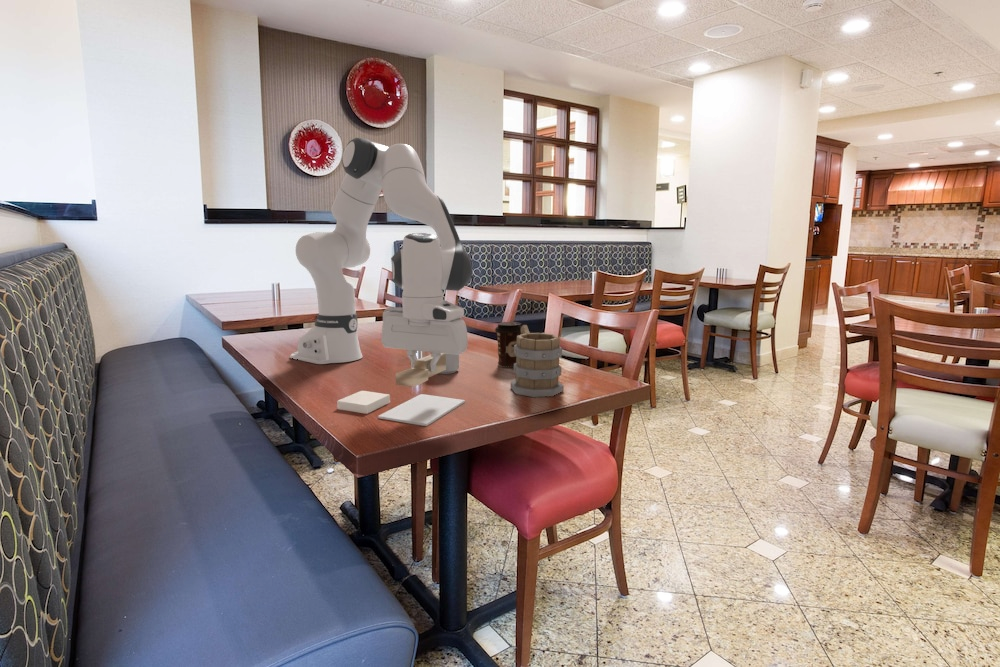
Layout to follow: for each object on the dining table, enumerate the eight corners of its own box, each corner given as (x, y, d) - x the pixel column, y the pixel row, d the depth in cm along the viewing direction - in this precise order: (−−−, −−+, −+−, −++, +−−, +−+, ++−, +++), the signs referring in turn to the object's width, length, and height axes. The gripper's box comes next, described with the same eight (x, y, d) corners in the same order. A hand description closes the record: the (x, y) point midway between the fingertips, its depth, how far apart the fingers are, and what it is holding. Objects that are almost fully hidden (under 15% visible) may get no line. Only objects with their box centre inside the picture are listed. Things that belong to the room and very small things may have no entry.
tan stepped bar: (395, 384, 117) (395, 366, 116) (433, 368, 131) (432, 351, 130) (413, 386, 115) (413, 368, 114) (449, 370, 129) (449, 353, 129)
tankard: (568, 396, 136) (570, 336, 134) (518, 398, 134) (519, 337, 131) (545, 375, 156) (547, 323, 153) (501, 377, 153) (502, 324, 150)
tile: (362, 399, 133) (337, 410, 125) (361, 390, 132) (337, 400, 124) (390, 404, 130) (366, 415, 122) (389, 394, 129) (366, 405, 121)
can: (457, 374, 155) (457, 332, 153) (431, 374, 155) (430, 332, 153) (460, 368, 163) (460, 328, 160) (434, 367, 163) (434, 327, 160)
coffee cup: (528, 364, 168) (529, 322, 165) (515, 370, 161) (515, 326, 158) (503, 361, 172) (504, 320, 170) (489, 366, 165) (489, 323, 163)
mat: (377, 418, 119) (377, 416, 118) (421, 395, 135) (421, 393, 135) (426, 426, 114) (426, 423, 114) (465, 402, 130) (465, 400, 130)
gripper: (374, 307, 121) (376, 368, 124) (457, 313, 114) (458, 378, 116) (390, 304, 127) (392, 362, 130) (470, 309, 119) (471, 371, 122)
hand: (424, 370), depth 123 cm, fingers closed on tan stepped bar, 2 cm apart
